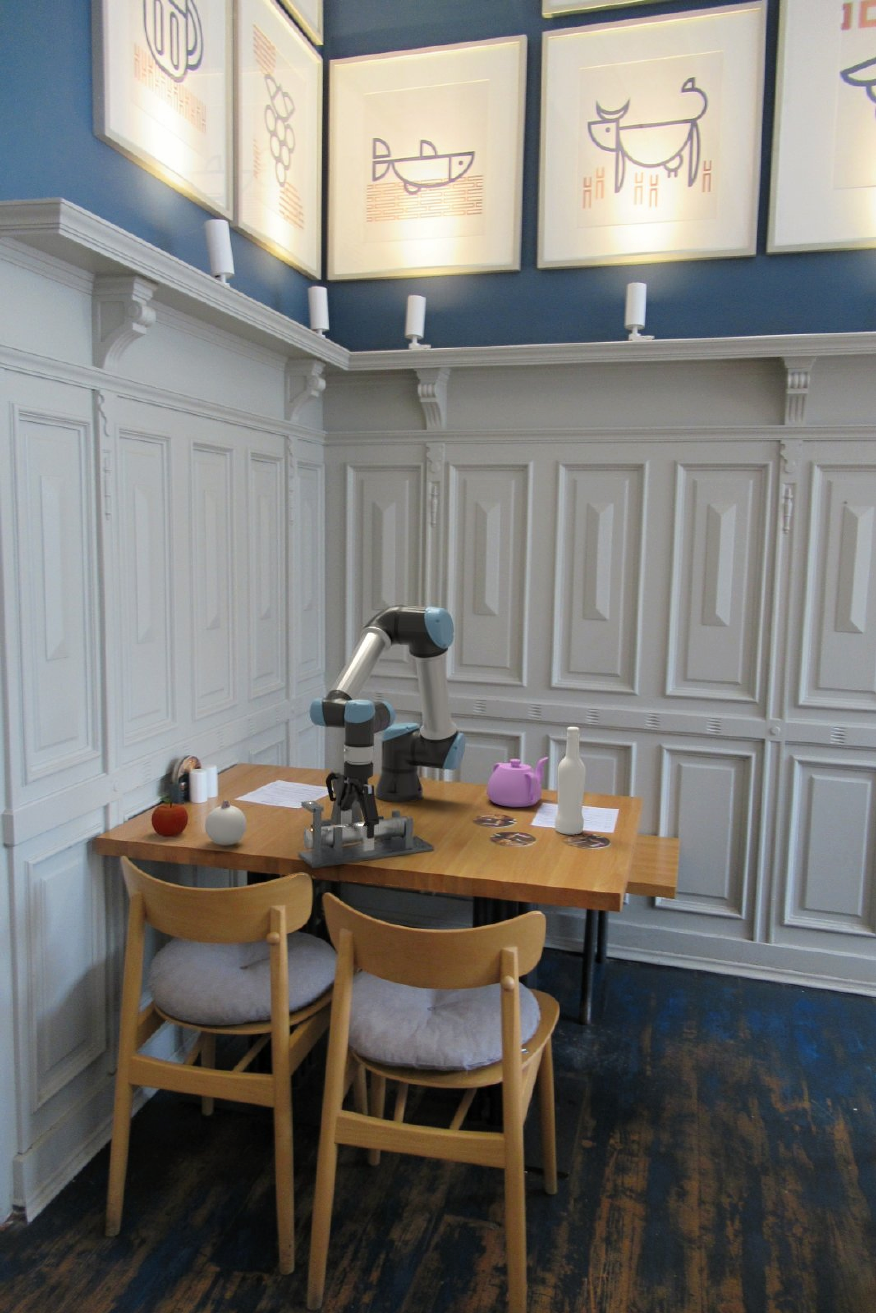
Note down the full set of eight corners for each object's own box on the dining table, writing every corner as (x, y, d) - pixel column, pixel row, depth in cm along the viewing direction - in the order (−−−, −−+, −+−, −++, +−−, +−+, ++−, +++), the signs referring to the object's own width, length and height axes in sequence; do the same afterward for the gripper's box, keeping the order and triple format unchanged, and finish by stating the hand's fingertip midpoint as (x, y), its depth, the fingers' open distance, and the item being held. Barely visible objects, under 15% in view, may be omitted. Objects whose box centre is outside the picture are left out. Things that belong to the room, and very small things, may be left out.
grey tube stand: (415, 839, 258) (417, 785, 257) (434, 850, 249) (436, 794, 248) (295, 856, 241) (296, 798, 239) (311, 869, 232) (312, 808, 231)
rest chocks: (381, 833, 263) (382, 815, 262) (394, 840, 256) (394, 822, 256) (310, 842, 253) (311, 824, 252) (321, 851, 246) (322, 832, 245)
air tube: (401, 831, 253) (402, 812, 252) (410, 838, 248) (411, 819, 248) (302, 844, 239) (303, 825, 238) (310, 852, 235) (311, 832, 234)
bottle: (585, 829, 273) (590, 726, 269) (580, 836, 265) (585, 731, 262) (557, 825, 275) (562, 723, 272) (551, 833, 268) (556, 728, 264)
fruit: (174, 841, 250) (174, 804, 249) (144, 837, 253) (143, 800, 252) (195, 832, 259) (195, 796, 258) (166, 827, 262) (166, 792, 261)
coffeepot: (348, 814, 281) (350, 754, 278) (373, 820, 275) (375, 759, 273) (313, 825, 268) (314, 763, 266) (338, 832, 263) (339, 768, 261)
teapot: (568, 805, 298) (570, 762, 296) (514, 815, 285) (516, 769, 284) (523, 789, 316) (525, 749, 314) (471, 797, 303) (472, 755, 302)
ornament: (226, 852, 242) (226, 807, 241) (197, 845, 248) (197, 800, 246) (254, 842, 251) (254, 798, 250) (225, 835, 256) (225, 792, 255)
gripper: (325, 752, 250) (324, 830, 253) (366, 773, 229) (364, 858, 231) (351, 750, 254) (350, 827, 256) (394, 770, 232) (392, 854, 235)
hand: (356, 842), depth 244 cm, fingers open, 13 cm apart
